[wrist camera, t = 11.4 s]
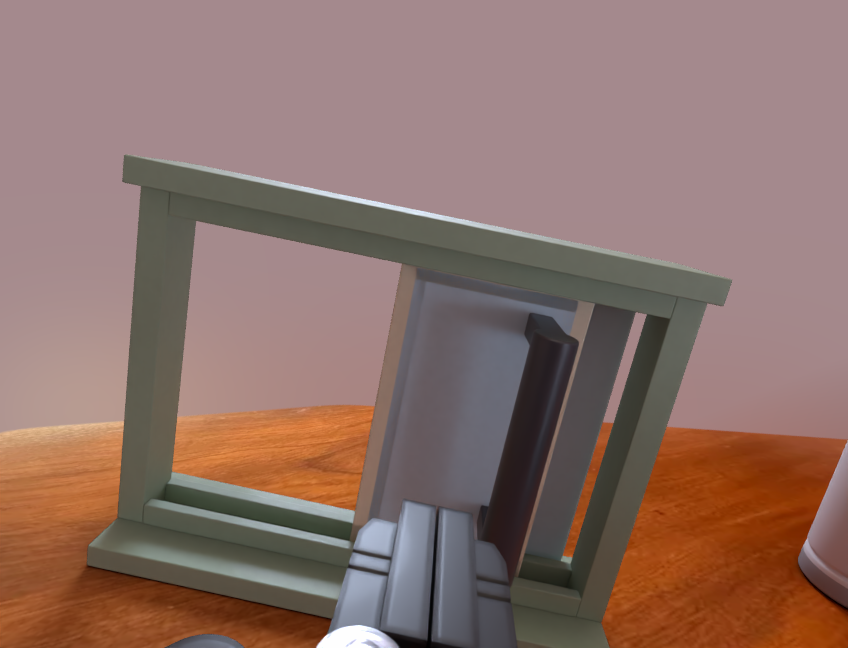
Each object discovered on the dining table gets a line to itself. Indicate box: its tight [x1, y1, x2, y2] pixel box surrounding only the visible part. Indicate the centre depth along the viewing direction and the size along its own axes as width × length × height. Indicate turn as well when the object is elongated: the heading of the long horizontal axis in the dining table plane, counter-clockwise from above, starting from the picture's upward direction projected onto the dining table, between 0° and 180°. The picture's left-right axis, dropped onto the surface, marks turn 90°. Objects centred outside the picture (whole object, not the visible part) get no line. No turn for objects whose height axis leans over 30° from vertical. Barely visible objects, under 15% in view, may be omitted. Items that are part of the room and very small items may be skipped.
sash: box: [349, 264, 595, 588], centre depth 21 cm, size 5×8×14 cm, turn 86°
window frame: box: [87, 155, 732, 648], centre depth 24 cm, size 6×22×17 cm, turn 86°
